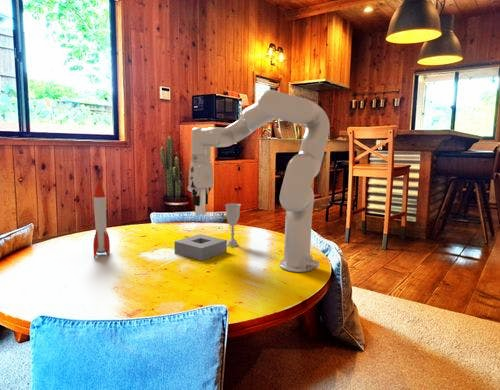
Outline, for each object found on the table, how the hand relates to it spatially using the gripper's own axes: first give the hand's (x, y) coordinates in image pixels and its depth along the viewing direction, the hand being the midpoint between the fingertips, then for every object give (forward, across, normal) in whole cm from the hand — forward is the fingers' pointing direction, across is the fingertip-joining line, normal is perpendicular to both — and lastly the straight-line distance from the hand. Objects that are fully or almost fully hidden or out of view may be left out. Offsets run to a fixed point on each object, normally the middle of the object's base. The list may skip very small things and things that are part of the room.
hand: (200, 204), depth 150 cm
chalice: (+20, +17, -3) cm, 27 cm away
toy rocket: (+21, -27, +28) cm, 44 cm away
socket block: (+20, 0, 0) cm, 20 cm away
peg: (+4, 0, 0) cm, 4 cm away
